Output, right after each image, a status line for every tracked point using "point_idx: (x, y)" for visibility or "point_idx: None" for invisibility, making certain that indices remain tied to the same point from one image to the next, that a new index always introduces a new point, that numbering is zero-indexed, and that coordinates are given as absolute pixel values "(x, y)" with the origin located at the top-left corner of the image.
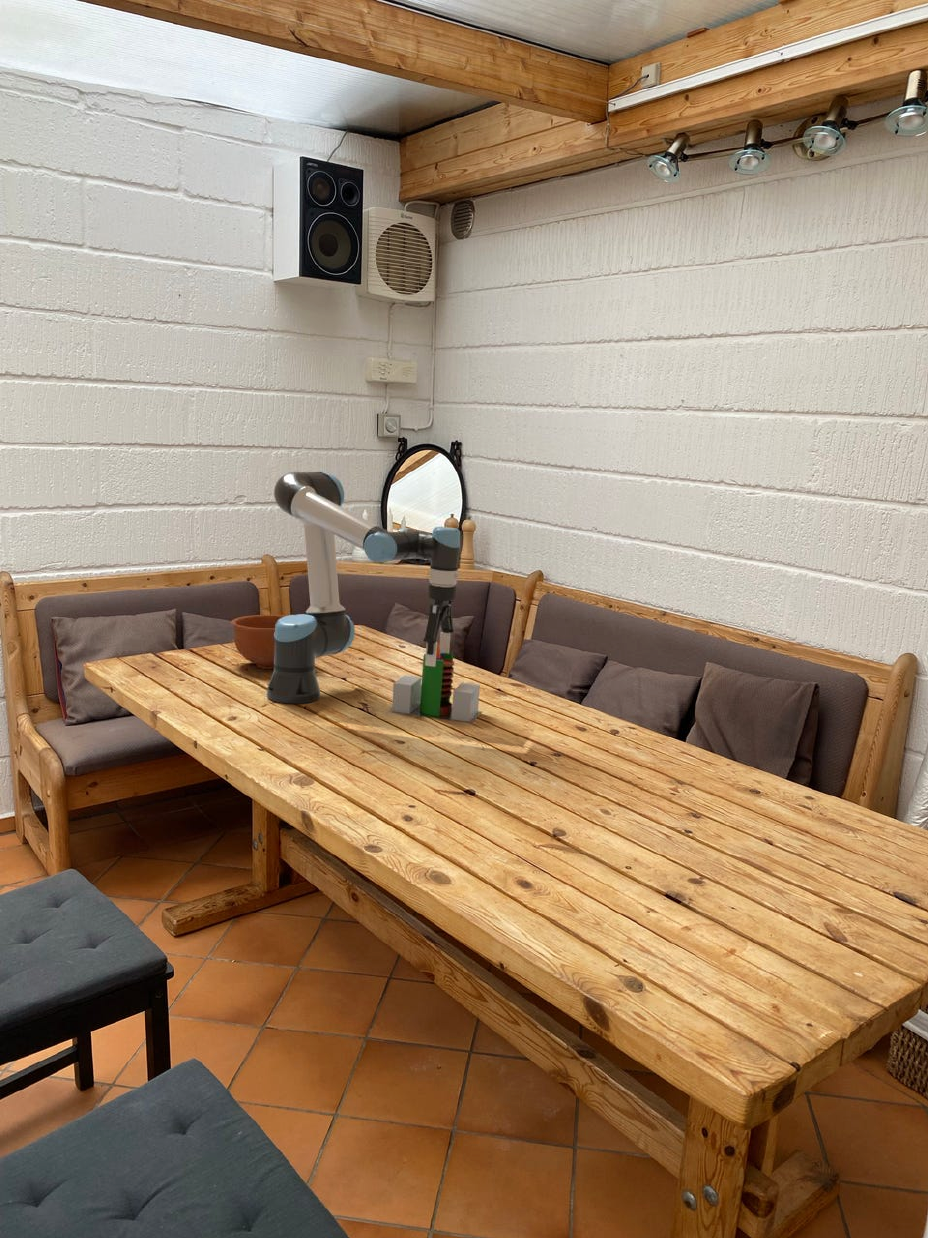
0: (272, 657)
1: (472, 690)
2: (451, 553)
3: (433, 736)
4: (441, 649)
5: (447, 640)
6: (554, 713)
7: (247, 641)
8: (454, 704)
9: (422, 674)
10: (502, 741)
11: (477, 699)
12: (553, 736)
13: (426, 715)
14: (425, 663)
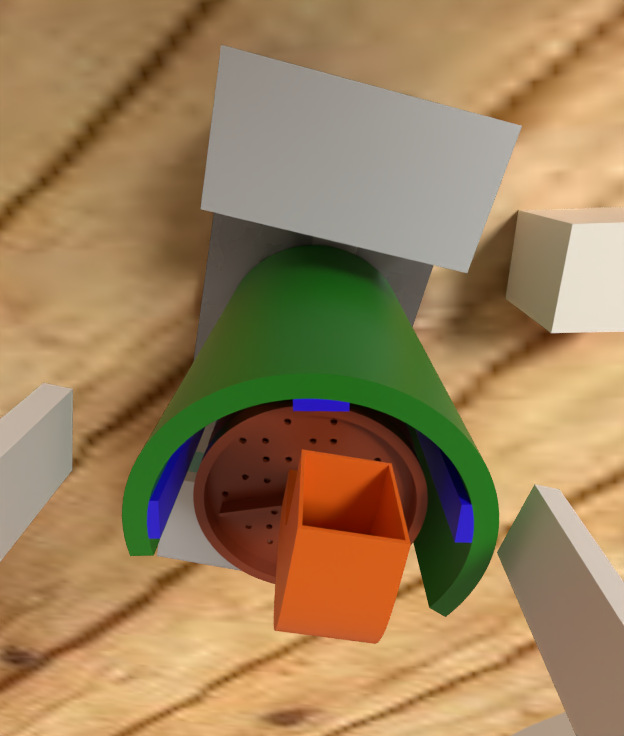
0: None
1: (209, 560)
2: None
3: (16, 321)
4: (552, 548)
5: (578, 702)
6: (438, 677)
7: None
8: None
9: (277, 307)
10: (72, 543)
11: None
12: (187, 660)
13: (227, 285)
14: (29, 396)
